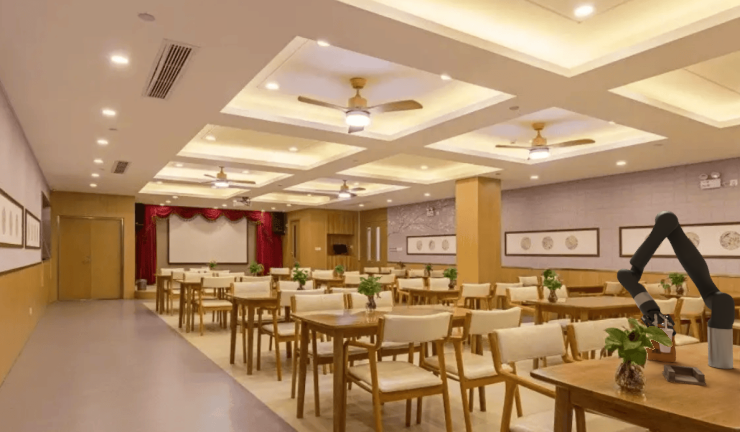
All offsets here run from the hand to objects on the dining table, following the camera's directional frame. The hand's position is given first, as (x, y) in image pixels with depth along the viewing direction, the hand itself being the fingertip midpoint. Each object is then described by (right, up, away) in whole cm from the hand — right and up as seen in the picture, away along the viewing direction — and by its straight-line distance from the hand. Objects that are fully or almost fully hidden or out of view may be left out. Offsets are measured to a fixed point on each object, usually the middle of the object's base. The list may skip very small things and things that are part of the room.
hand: (667, 335), depth 218 cm
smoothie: (0, -8, +1) cm, 8 cm away
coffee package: (+7, -16, +18) cm, 25 cm away
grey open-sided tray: (-3, -14, -16) cm, 21 cm away
